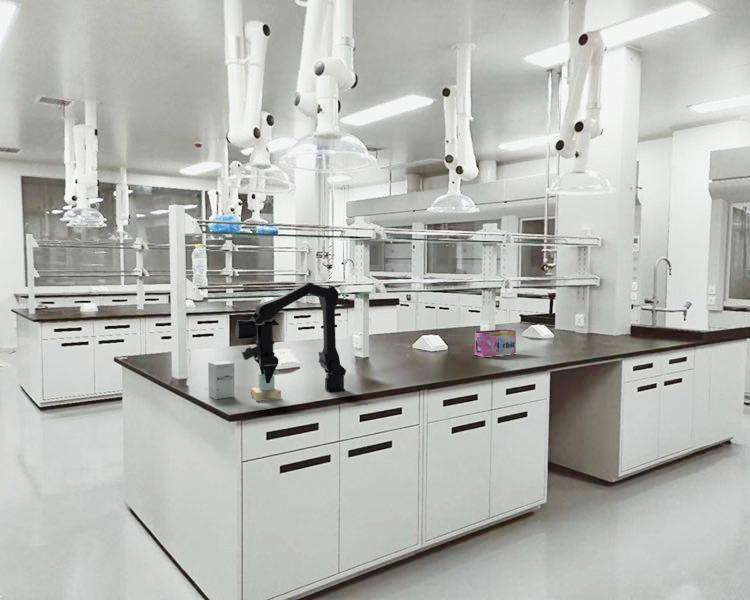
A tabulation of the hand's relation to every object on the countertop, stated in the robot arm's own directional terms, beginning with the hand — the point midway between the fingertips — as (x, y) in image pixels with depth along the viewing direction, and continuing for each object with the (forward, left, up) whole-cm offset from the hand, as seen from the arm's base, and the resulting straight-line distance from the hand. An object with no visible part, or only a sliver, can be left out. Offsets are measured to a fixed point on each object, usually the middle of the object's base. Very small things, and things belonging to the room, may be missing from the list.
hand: (265, 380), depth 201 cm
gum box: (-132, -56, -6) cm, 144 cm away
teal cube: (0, 0, -3) cm, 3 cm away
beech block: (0, 0, -6) cm, 7 cm away
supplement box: (+15, -7, -6) cm, 18 cm away
